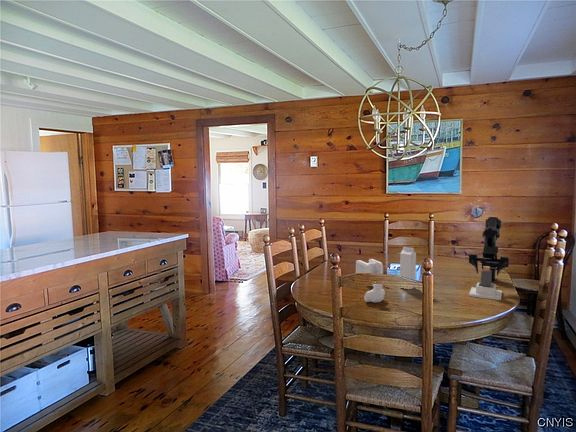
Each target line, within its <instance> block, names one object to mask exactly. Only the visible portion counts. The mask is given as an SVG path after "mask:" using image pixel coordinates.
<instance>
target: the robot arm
mask: <svg viewBox="0 0 576 432" xmlns="http://www.w3.org/2000/svg"><path fill="white" fill-rule="evenodd" d="M501 229H502V220H501V219H499V217H497V216H488V217H487V219H485V228H484V230H483V231H482V238H483V250H482V257H479V256H478V254H475V253H469V254H468V263H469V264H470V265H472V266H473V267H474V269H475V273H476V274H479V266H478V265H479V263H478V262H481V270H482V269H483V267H484V266H490V270H492V272H491V282H495V281H497V280H499V278H496V276H497V277H498V276H499V274H500V273H501V271H502V270H503V269H506V268H509V263H510V261H509V260H510V258H509V257H508V256H500V257H499V258H498V253H499V246H497V240H498V239H499V238H500V236H501V234H500V232H501V231H500V230H501Z"/></svg>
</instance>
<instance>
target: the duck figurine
mask: <svg viewBox="0 0 576 432" xmlns="http://www.w3.org/2000/svg"><path fill="white" fill-rule="evenodd" d="M372 284H373V283H372ZM383 285H384V284H383ZM383 285H382V284H373V285H372V287H373V288H372V289H371V290H368V291H366V293H365V294H364V301H365V303H366V302H369V303H377V302H378V303H381V302H382V301H383V300H384V298H385V295H386V291H385V289H384V288H383V287H384V286H383Z"/></svg>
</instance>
